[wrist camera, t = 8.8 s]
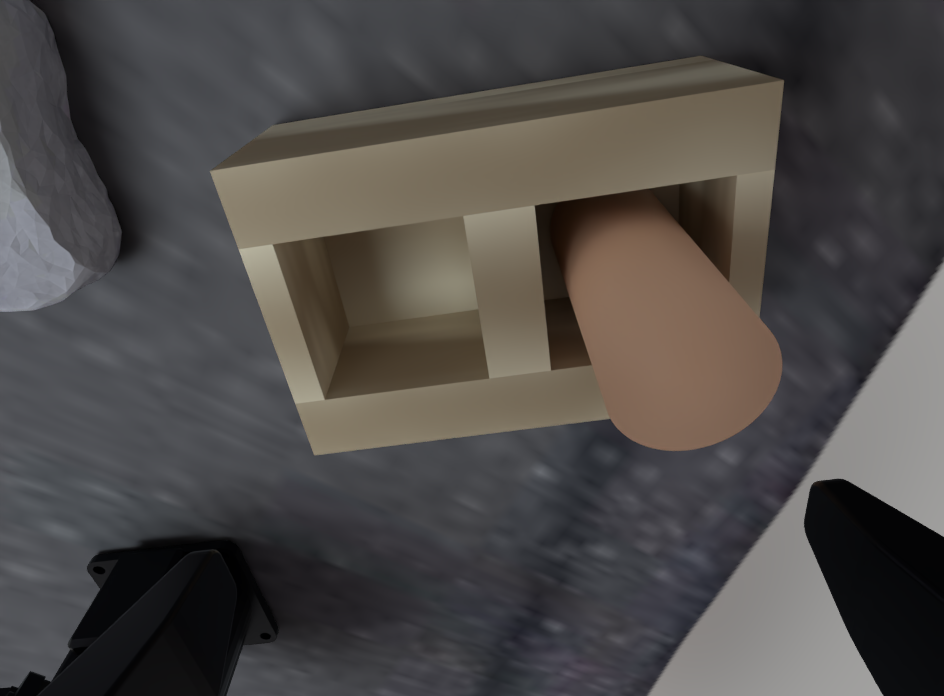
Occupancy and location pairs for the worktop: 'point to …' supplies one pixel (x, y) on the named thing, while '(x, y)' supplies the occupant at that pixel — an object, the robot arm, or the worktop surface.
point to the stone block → (45, 174)
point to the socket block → (481, 239)
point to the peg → (661, 324)
